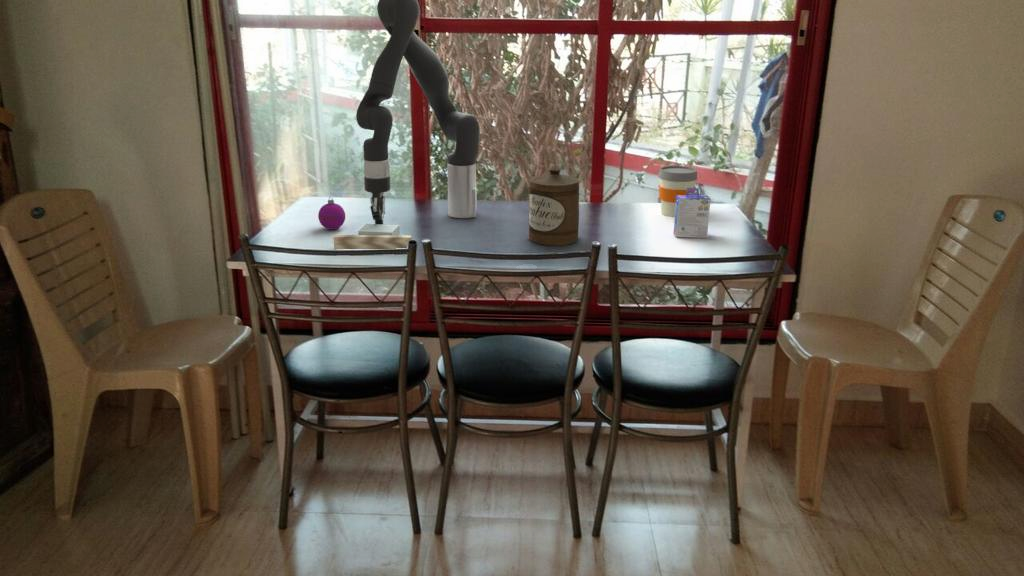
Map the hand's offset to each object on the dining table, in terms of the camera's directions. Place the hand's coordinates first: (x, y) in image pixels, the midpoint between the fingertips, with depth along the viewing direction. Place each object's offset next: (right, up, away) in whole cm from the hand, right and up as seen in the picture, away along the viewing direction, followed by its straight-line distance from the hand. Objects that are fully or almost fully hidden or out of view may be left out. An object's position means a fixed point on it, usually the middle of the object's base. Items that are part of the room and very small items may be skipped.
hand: (379, 231), depth 250 cm
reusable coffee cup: (+94, +8, +30) cm, 99 cm away
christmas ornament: (-16, +1, +8) cm, 18 cm away
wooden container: (+52, -2, +1) cm, 52 cm away
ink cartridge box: (+94, -1, +5) cm, 94 cm away
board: (0, -6, -12) cm, 13 cm away
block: (+1, -4, -5) cm, 7 cm away
